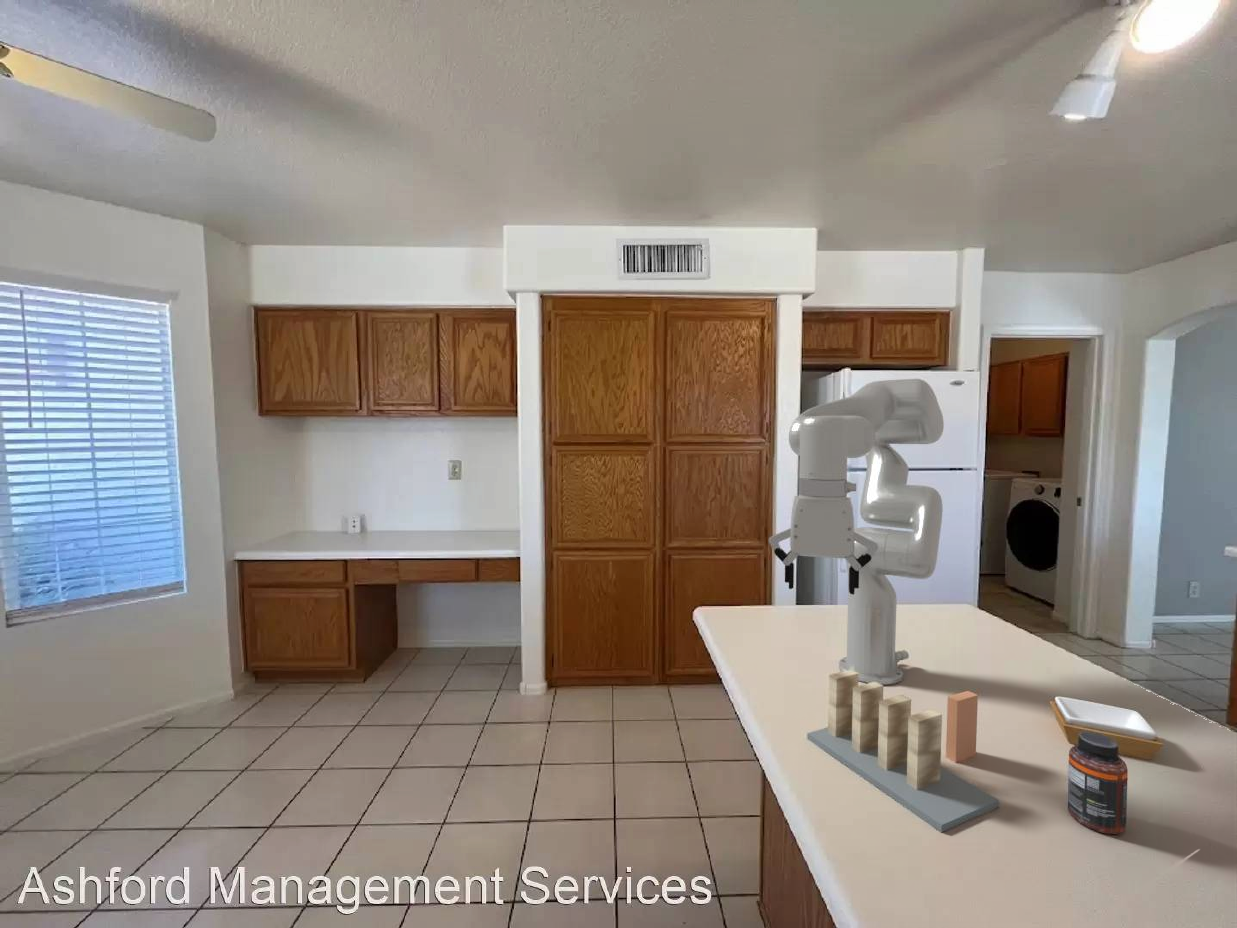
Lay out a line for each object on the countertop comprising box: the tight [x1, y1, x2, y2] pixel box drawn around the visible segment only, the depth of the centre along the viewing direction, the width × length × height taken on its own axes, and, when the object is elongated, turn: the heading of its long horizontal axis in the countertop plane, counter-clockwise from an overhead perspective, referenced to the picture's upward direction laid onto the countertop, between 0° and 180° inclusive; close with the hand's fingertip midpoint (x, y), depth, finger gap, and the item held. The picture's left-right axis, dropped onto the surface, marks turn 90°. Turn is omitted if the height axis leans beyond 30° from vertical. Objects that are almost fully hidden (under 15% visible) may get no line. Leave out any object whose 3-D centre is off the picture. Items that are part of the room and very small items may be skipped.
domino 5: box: [945, 690, 979, 763], centre depth 87 cm, size 5×2×10 cm, turn 114°
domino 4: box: [907, 709, 943, 790], centre depth 79 cm, size 5×2×10 cm, turn 114°
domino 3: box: [878, 694, 912, 770], centre depth 84 cm, size 5×2×10 cm, turn 114°
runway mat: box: [806, 727, 1000, 833], centre depth 84 cm, size 12×24×1 cm, turn 24°
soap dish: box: [1049, 696, 1164, 761], centre depth 92 cm, size 12×10×5 cm
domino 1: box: [827, 670, 859, 737], centre depth 93 cm, size 5×2×10 cm, turn 114°
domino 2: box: [852, 682, 884, 752], centre depth 88 cm, size 5×2×10 cm, turn 114°
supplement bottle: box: [1067, 731, 1129, 835], centre depth 73 cm, size 6×6×11 cm
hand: (820, 589), depth 92 cm, fingers open, 9 cm apart
